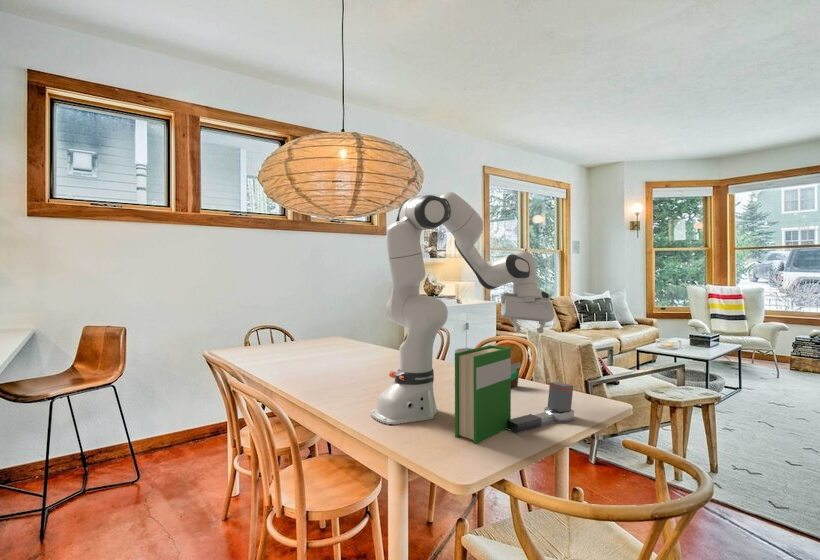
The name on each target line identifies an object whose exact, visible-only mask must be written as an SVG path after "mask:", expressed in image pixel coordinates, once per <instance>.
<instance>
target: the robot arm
mask: <svg viewBox="0 0 820 560" xmlns="http://www.w3.org/2000/svg"><path fill="white" fill-rule="evenodd" d="M441 225H443V226H444V227H445V228H446V229H447V231H448V232H449V233H451V234H452V236H453V238H454V245H455V248H456V250H457V251H458V253H459V254H460V256H461V257H462V259H463V260H464V261H465V262H466V264H467V265H468V266H469V268H470V269H471V270H472V272H473V273H474V274H475V276H476V279H477V280H478V282H479V284H480V285H481V286H482V287H484V288H485V289H487V290H495V289H498V288H499V287H501V286H504V285H507V284H510V283H513V286H512V290H513V292H504V293H502V294H501V296H500V302H501V305H500V307H501V308H500V315H501V317H502V318H503V319H510V323H511V325H512V326H513V329H514V330H513V331H514V332H520V331H521V325H519V324H518V323H517V321H518V320H522V321H532V322H538V324H539V327H537V328H536V331H537V334H544V332H545V331H544V328H545V325H546V323H549V322H551V321H552V322H553V320H554V319H555V311H554V305H553V303H552V302H551V299H552V294H551V293H549V292H546V291H544V290H542V289H540V288H539V286H538V285H539V284H538V283H537V282H538V281H537V276H538V274H537V273H538V272H537V266H536V262H535V258H534V255H533V254H532V253H531V252H529V251H526V250H525V251H524V250H519V251H516V252H514V253H511V254H508V255H505V256H501V257H499V258H497V259H495V260H492V261H487V260H485V259H484V258H483V257H482V255H481V253H480V252H479V250H477V249H476V247H475V244H476V243H477V242H478V240H479V239H480V237H481V236H482V233H483V230H484V221H483V219H482V217H481V216H480V214H479V213H478V212H477V211H476V210H475V209H474V208H473V207H472V206H471V205H470V204H469V203H468V202H467V201H466V200H465V199H464V198H462V197H461V196H459V195H458V194H456V193H454V191H453V192H452V191H446V192H444V193H442V194H441V195H439V196H437V195H434V194H433V195H432V194H427V195H417V196H413V197H411V198H407V199H405V201H403V202H402V203H401V205H400V207H399V208H398V213H397V217H396V219H395V222H392V223H391V224H390V225H389V226H388V227H387V229H386V248H387V256H388V262H389V267H390V274H391V281H392V284H391V285H392V286H391V288H392V289H391V295H390V298H389V299H388V301H387V302H386V306H385V314H386V317H387V319H388V320H389V321H390V322H391V323H393V324H396V325H398V326H400V327H405V328H408V329H407V330H408V331H407V336H406V338H405V339H404V341H403V342H402V343H400V345H399V349H398V351H399V352H398V356H399V357H398V358H399V363H398V365H399V368H398V370H397V372H396V371H394V370H390V371H389V373H388V376H389V377H390V378H393V379H394V381H393V383H391V384H390V385H389V386H388V387H387V388H386V389H385V390H384V391H382V392H381V393H380V394H379V396H378V398H377V405H376V406H377V407H376V408H374V409H371V410H370V413H371V415H370V417H371V418H372V417H373V418H372V419H374V418H375V419H376V420H375V419H374V420H375V421H377V420H378V421H377V422H379V421H380V422H379V423H381V422H383V423H382V424H384V423H386V424H385V425H389V424H393V425H400V423H401V424H407V423H413V422H414V423H415V422H421V421H422V422H423V421H428V420H434V419H435V415H436V414H437V413H438V409H437V403H436V400H435V394H434V381H435V380H434V379H435V377H434V376H435V375H434V372H435V371H434V368H433V352H434V349H433V347H434V342H435V339H436V337H437V334H438V332H439V331H440V329H442V328H443V327H444V326H445V324H446V323H447V321H448V317H449V315H448V314H449V311H448V307H447V305H446V303H445V302H444V301H443V300H441V299H438V298H436V297H434V296H431V295H429V296H428V295H427V296H426V295H420V285H421V283H422V281H423V280H424V279H425V277H426V268H425V263H424V256H423V251H422V245H421V234H422V232H423V231H425V230H433V229H436V228H439V227H440V226H441Z"/></svg>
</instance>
